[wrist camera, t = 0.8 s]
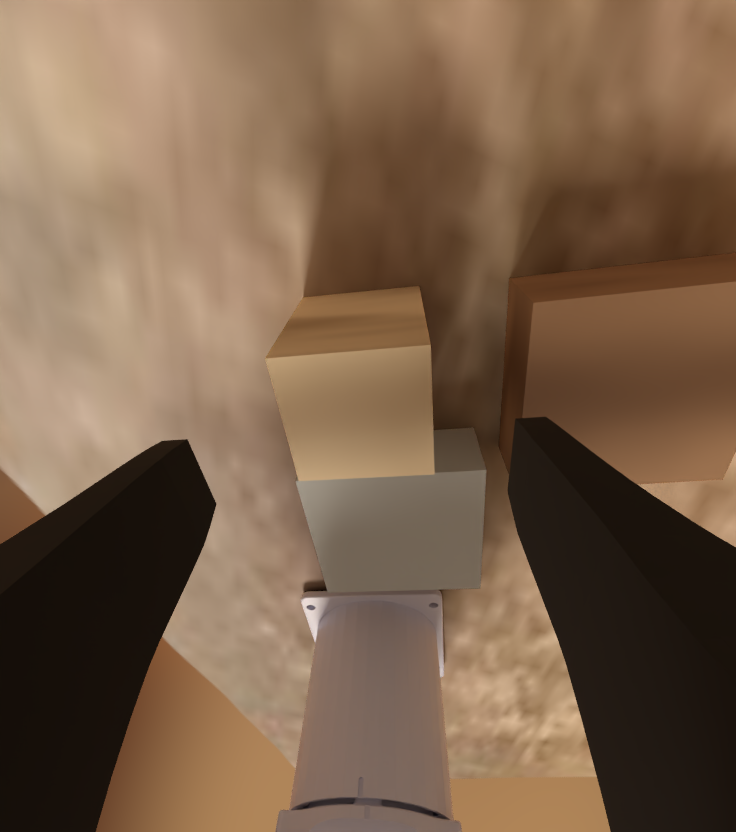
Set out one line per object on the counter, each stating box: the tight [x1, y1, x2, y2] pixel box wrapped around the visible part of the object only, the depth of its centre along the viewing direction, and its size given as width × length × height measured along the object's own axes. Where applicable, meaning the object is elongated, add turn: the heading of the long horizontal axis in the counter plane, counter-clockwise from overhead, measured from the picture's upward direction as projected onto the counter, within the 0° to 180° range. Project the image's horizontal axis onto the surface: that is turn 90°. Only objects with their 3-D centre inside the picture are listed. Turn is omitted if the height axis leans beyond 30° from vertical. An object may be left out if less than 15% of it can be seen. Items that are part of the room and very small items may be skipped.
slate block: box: [296, 427, 486, 593], centre depth 18 cm, size 7×7×3 cm
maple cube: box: [265, 286, 435, 481], centre depth 13 cm, size 4×4×5 cm
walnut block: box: [499, 253, 736, 484], centre depth 14 cm, size 7×7×3 cm
